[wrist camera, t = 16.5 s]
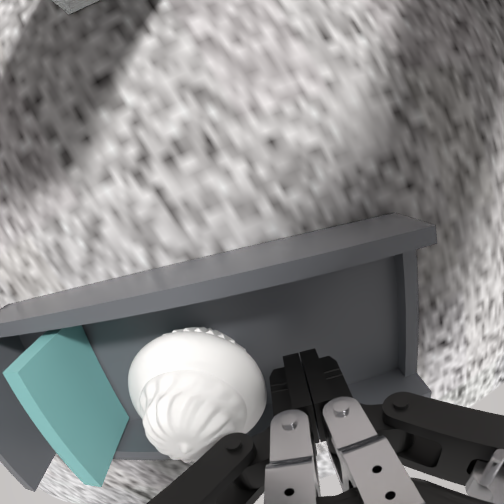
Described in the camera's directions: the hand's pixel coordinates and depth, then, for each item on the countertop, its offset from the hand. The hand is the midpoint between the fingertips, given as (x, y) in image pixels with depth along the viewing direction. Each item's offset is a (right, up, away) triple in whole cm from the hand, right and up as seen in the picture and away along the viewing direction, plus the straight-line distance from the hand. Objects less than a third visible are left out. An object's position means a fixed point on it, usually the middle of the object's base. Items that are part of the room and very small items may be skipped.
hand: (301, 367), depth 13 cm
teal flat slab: (-12, -2, +3) cm, 12 cm away
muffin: (-5, 0, +3) cm, 5 cm away
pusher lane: (-6, 0, +4) cm, 7 cm away
